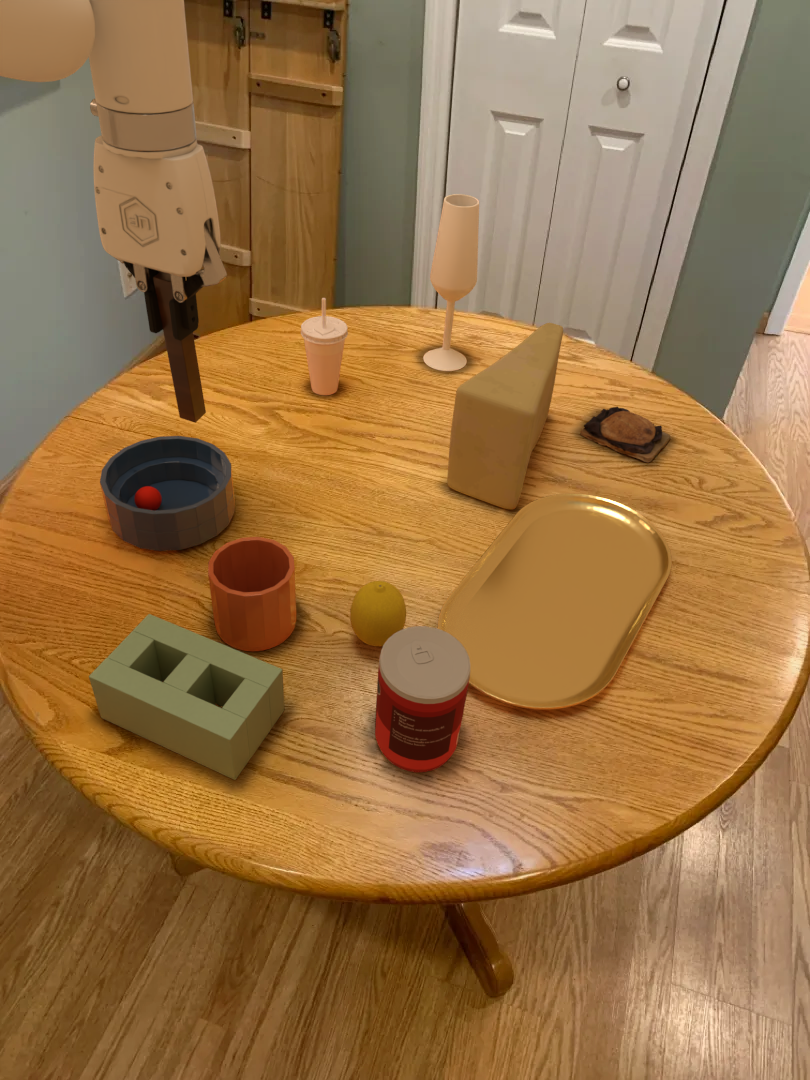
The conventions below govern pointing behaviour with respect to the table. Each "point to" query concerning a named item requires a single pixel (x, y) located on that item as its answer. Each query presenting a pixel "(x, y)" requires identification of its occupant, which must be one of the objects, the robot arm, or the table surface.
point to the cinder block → (189, 694)
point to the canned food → (420, 697)
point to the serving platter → (557, 600)
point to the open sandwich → (626, 433)
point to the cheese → (503, 419)
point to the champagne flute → (454, 269)
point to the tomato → (148, 498)
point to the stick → (180, 357)
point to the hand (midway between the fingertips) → (174, 329)
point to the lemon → (377, 612)
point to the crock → (253, 593)
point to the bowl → (169, 492)
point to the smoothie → (324, 350)
